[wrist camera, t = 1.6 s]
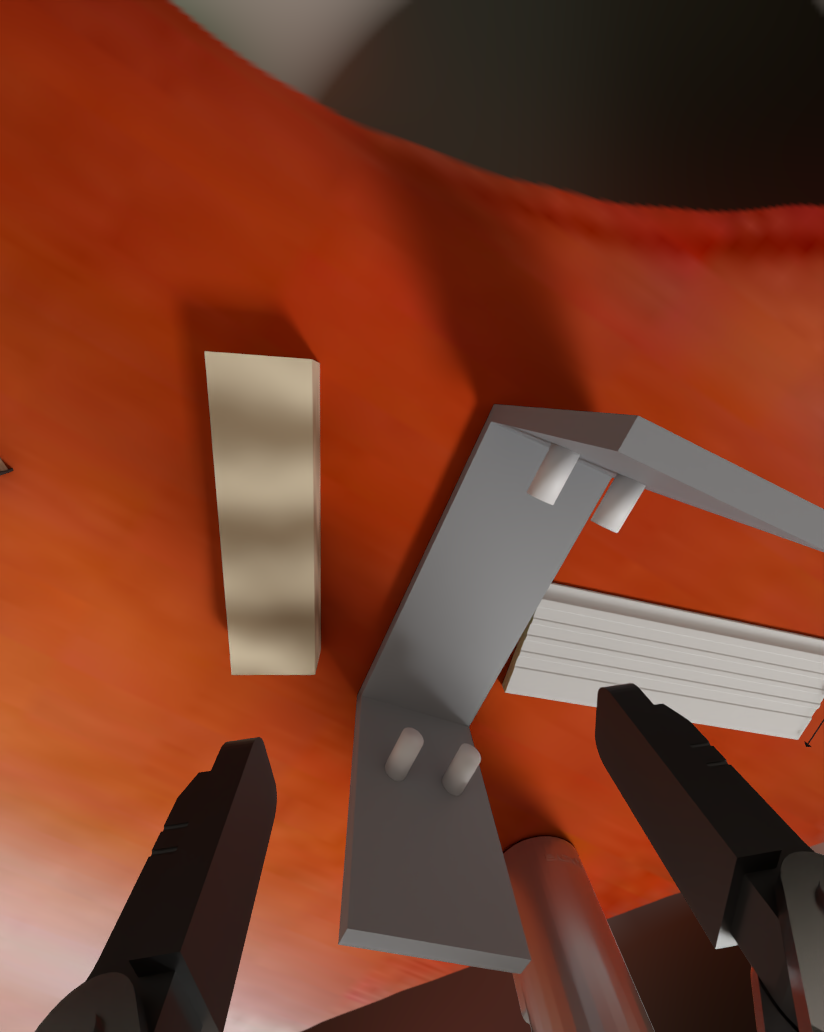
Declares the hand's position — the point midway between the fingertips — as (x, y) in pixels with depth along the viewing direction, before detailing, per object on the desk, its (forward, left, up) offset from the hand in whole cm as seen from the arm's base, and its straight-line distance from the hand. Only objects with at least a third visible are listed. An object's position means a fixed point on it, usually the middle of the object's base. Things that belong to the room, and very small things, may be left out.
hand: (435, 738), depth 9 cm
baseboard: (-3, -29, -22) cm, 36 cm away
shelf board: (-4, +8, -21) cm, 23 cm away
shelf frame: (-4, -8, -21) cm, 23 cm away
